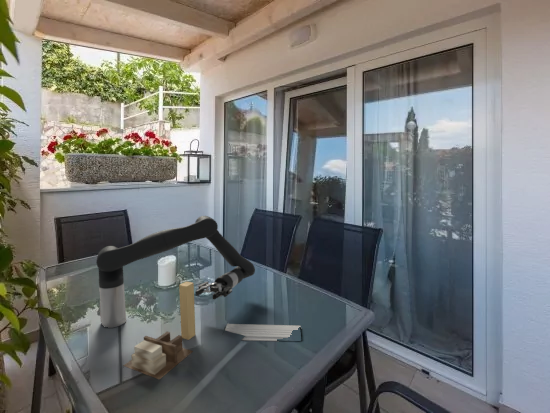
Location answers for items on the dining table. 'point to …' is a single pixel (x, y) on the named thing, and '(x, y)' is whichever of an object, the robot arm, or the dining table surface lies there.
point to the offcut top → (148, 350)
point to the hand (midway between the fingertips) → (204, 295)
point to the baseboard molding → (261, 331)
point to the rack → (170, 349)
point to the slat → (187, 310)
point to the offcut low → (149, 363)
